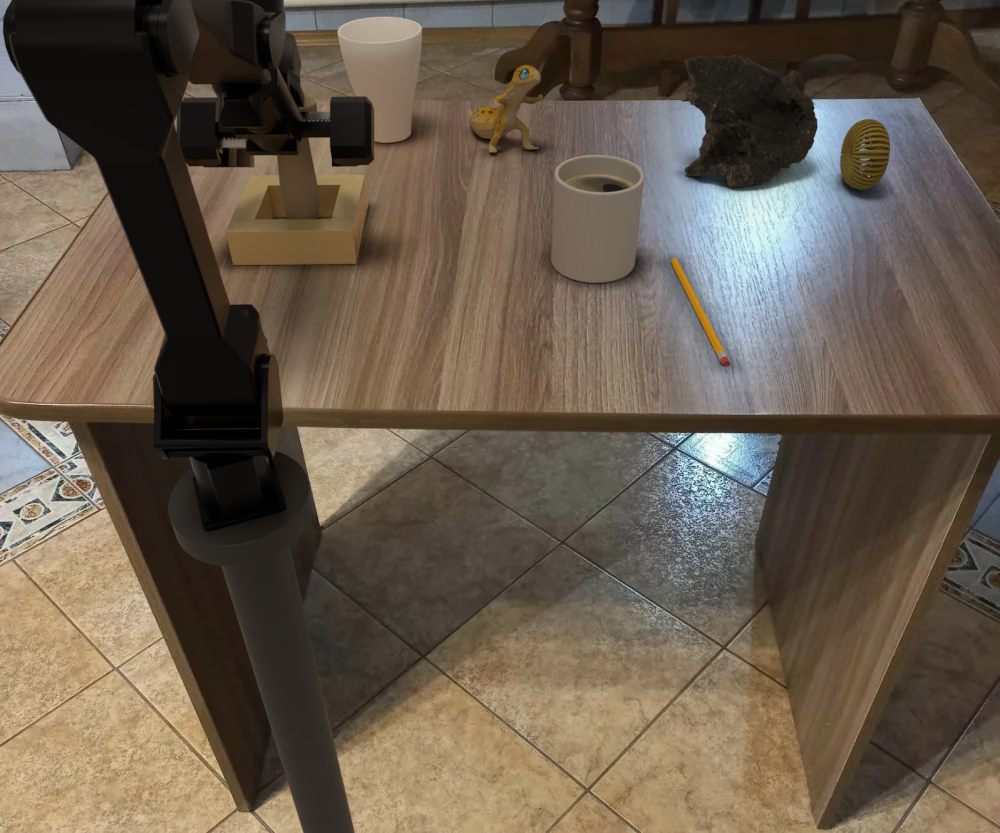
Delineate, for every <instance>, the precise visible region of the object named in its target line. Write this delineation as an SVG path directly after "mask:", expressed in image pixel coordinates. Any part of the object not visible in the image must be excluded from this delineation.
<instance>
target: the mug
mask: <svg viewBox="0 0 1000 833" xmlns="http://www.w3.org/2000/svg"><path fill="white" fill-rule="evenodd" d="M644 184H645V174H644V171H643V170H642V168H641V167H640V166H638V165H637V164H636V163H634V162H632V161H630V160H628V159H626V158H622V157H619V156H613V155H606V154H586V155H585V154H584V155H579V156H575V157H571V158H569V159H565V160H564V161H562V162H561V163H559V164H558V166H556V168H555V170H554V177H553V203H552V207H553V208H552V226H551V252H550V261H551V265H552V266H553V268H554V269H555V270H556V272H557V273H559V274H561V275H562V276H564V277H566V278H568V279H570V280H574V281H577V282H582V283H588V284H602V283H609V282H614V281H618V280H620V279H623V278H625V277H626V276H628V275H629V274H630V273H632V271H633V269H634V268H635V264H636V259H637V258H636V257H637V248H638V238H639V228H640V220H641V210H642V203H643V202H642V201H643V192H644Z"/></svg>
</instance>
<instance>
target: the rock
mask: <svg viewBox="0 0 1000 833" xmlns="http://www.w3.org/2000/svg"><path fill="white" fill-rule="evenodd" d="M683 61H684V66H685V69H686V71H687V76H688V80H687V83H688V84H687V86H688V89H686V90H685V91H684V92H683V94H682V95H681V97H680V102H683V103H684V102H685V103H686V102H689V104H690V105H691V106H694V107H695V108H696V109H698V110H699V111H701V113H702V114H703V116H704V119H705V120H704V130H705V134H704V135H703V136H702V138H701V139H702V140H701V141H702V142H701V145H700V147H699V150H698V151H699V156H698V157H697V158H696V159H694V160H692V161H691V163H690V164H688V165H687V166H686V167H685V168H684V173H685V174H686V175H687V176H688V177H700V176H704V175H713V174H716V175H722V177H724V178H726V185H727V187H729V188H739V187H747V186H754V185H759V184H763V183H764V182H767V181H769V180H770V179H772V178H773V177H775V176H776V175H777V174H778V173H779V172H780V171H781V170H782V169H790V167H791V165H793V164H800V162H802V161H803V160H804V159H806V157H807V155H808V154H809V151H810V150H811V149H812V148H813V145H814V143H815V137H816V134H817V132H818V127H819V126H818V118H817V117H816V112H815V109H816V107H815V103H814V101H813V99H812V98H811V97H810V96H809V95H808V93H805V90H806V87H805V82H804V79H803V76H802V74H801V73H800V72H798V71H797V70H791V71H789V72H788V73H787V74H786V75H785V76H784V77H783V78H781V77H780V76H779V74H777V73H775V72H773V71H772V70H770V69H769V68H767V67H765V66H763V65H761V64H759V63H757V62H755V61H753V60H751V59H750V58H749V57H743V56H742V55H736V54H732V55H730V56H724V55H723V56H710V57H709V56H705V55H698V56H693V57H689V58H686V59H685V60H683Z"/></svg>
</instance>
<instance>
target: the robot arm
mask: <svg viewBox="0 0 1000 833" xmlns="http://www.w3.org/2000/svg"><path fill="white" fill-rule="evenodd" d="M286 19H287V16H286V11H285V0H11V1H10V2H9V4H8V6H7V8H6V9H5V11H4V15H3V19H2V36H3V40H4V41H3V42H4V47H5V50H6V52H7V55H8V58H9V61H10V62H11V64H12V66H13V68H14V69H15V71H16V72H17V73H18V74H20V75H21V78H22V80H23V81H24V83H25V85H26V86H27V89H28V90H29V92H30V94H31V96H32V97H33V99H34V101H35V103H36V104H37V105H36V106H38V109H39V110H40V112H41V114H42V116H43V117H44V119H45V121H47V122H48V123H49V125H51V126H52V127H54V128H55V129H56V130H58V131H59V132H61V134H63V135H64V136H65V137H67V138H68V139H69V140H71V141H72V142H73V143H75V144H76V145H77V146H79V147H80V148H81V149H82V150H84V152H86V153H87V154H89V155H90V156H91V157H92V158H93V159H94V161H95V163H96V166H97V168H98V171H99V173H100V175H101V179H102V180H103V183H104V185H105V188H106V191H107V193H108V195H109V198H110V200H111V203H112V206H113V208H114V211H115V213H116V215H117V217H118V220H119V222H120V226H121V228H122V230H123V233H124V236H125V238H126V241H127V242H128V245H129V248H130V250H131V253H132V255H133V258H134V260H135V262H136V265H137V268H138V270H139V273H140V275H141V277H142V280H143V283H144V285H145V288H146V290H147V293H148V295H149V297H150V300H151V304H152V305H153V308H154V310H155V313H156V315H157V317H158V320H159V323H160V325H161V328H162V330H163V333H164V336H163V338H162V341H161V345H160V348H159V352H158V354H157V359H156V361H155V364H154V368H153V371H154V374H153V375H152V394H153V396H152V397H153V448H154V450H155V451H156V452H157V454H158V455H159V457H160V458H161V459H162V460H163V459H164V460H167V459H170V458H189V461H190V464H191V467H192V468H193V471H194V474H195V475H194V476H193V483H194V488H195V493H196V498H197V503H198V508H199V512H200V517H201V522H202V526H203V529H204V530H205V531H207V532H209V531H213V530H217V529H221V528H224V527H228V526H232V525H235V524H239V523H243V522H246V521H250V520H254V519H257V518H261V517H265V516H268V515H272V514H276V513H279V512H282V511H284V510H285V509H286V502H285V499H284V496H283V493H282V489H281V486H280V483H279V479H278V476H277V473H276V470H275V466H274V463H273V460H272V458H271V457H274V454H275V451H277V446H278V442H279V439H280V434H281V430H282V427H283V423H284V409H283V399H282V387H281V377H280V367H279V361H278V359H277V358H278V357H277V356H276V354H274V353H271V351H270V348H269V346H268V338H267V336H266V335H265V332H264V329H263V326H262V320H261V314H260V313H259V311H258V310H257V308H256V307H255V306H254V305H253V304H251V303H244V304H243V303H242V304H241V303H239V304H238V303H237V304H235V303H233V304H231V302H230V300H229V297H228V294H227V290H226V287H225V284H224V281H223V277H222V274H221V271H220V268H219V265H218V262H217V259H216V255H215V252H214V249H213V246H212V242H211V239H210V235H209V233H208V229H207V227H206V226H207V225H206V222H205V220H204V217H203V214H202V210H201V207H200V204H199V201H198V198H197V194H196V191H195V188H194V184H193V181H192V178H191V175H190V172H189V168H188V167H203V168H207V169H209V168H211V169H212V168H218V169H219V168H225V169H226V168H229V169H230V168H231V169H233V168H255V156H277V155H299V143H300V142H301V140H302V138H309V139H319V138H320V139H322V138H323V139H325V138H326V139H327V138H328V139H329V150H330V158H331V167H332V168H344V167H345V168H346V167H347V168H351V167H353V168H354V167H359V166H370V164H372V162H373V161H375V141H374V107H373V104H372V102H371V101H370V100H369V99H368V98H367V97H366V96H357V97H356V96H331V98H330V101H329V111H317V112H300V111H299V107H304V97H305V95H304V93H305V92H304V89H303V88H302V86H301V68H302V60H301V57H300V52H299V48H298V45H297V39H296V37H295V35H294V34H292V33H291V32H288V31H287V29H286V28H287V24H286V23H287V21H286ZM189 83H190V84H191V85H211V88H212V91H213V92H214V95H215V96H216V97H215V96H214V97H213V96H211V97H209V96H208V97H207V96H206V97H203V96H202V97H198V96H197V97H195V96H194V97H184V95H185V93H186V90H187V87H188V84H189ZM305 120H306V121H305ZM175 122H176V125H175ZM192 468H191V469H192ZM280 505H282V506H280ZM278 506H279V507H278ZM210 524H211V525H210ZM207 525H209V526H207Z"/></svg>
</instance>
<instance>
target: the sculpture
mask: <svg viewBox="0 0 1000 833" xmlns="http://www.w3.org/2000/svg"><path fill="white" fill-rule="evenodd" d="M890 154H891V138H890V135H889V132H888V130H887V127H885V125H884V124H883V123H881V122H880V121H879V120H876V119H874V118H873V119H872V118H865V119H861V120H859V121H857V122H855V123H854V124H853V125H852V126H850V128H849V129H848V131H846V134H845V136H844V139H843V141H842V144H841V149H840V156H839V158H840V159H839V165H840V173H841V177H842V178H843V180H844V182H845V183H846V184H847V185H848V186H849V187H851V188H852V189H854V190H855V189H856V190H866V189H870V188H872V186H873V187H875V186H876V185H877V184H878V183H879V182H880V181H881V179H882V178H883V177H884V175H885V173H886V171H887V168H888V165H889V161H890V156H891V155H890ZM860 169H861V170H860ZM868 175H869V176H870V177H868ZM845 180H846V181H847V182H846V181H845Z"/></svg>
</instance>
